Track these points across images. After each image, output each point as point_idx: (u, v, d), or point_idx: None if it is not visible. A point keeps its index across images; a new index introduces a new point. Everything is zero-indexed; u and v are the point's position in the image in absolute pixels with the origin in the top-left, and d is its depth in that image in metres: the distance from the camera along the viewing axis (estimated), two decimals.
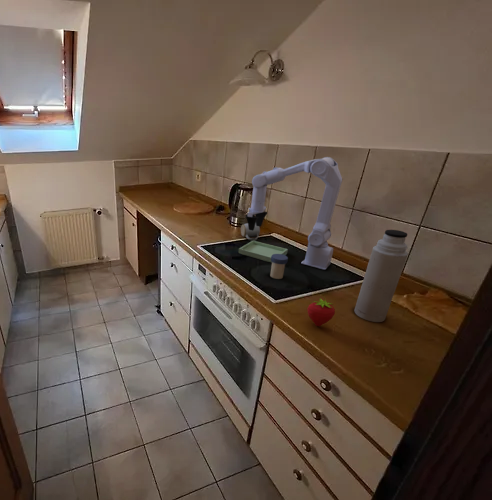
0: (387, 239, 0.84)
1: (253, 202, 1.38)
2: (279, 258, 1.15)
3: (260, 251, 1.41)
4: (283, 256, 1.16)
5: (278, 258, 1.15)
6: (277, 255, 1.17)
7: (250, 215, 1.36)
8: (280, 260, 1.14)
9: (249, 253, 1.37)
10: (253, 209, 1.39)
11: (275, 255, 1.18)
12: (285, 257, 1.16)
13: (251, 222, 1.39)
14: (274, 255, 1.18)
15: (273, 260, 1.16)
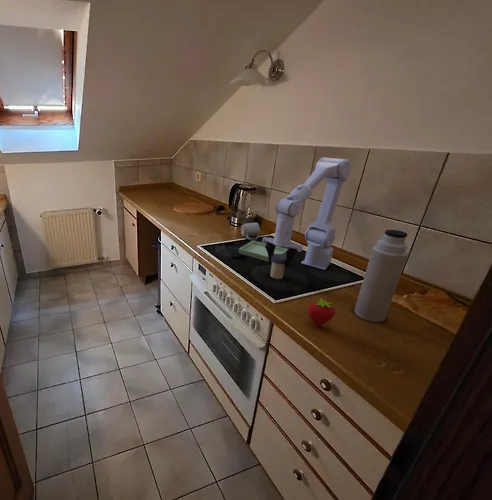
0: (387, 239, 0.84)
1: (289, 234, 1.10)
2: (279, 258, 1.15)
3: (260, 251, 1.41)
4: (283, 256, 1.16)
5: (278, 258, 1.15)
6: (277, 255, 1.17)
7: None
8: (280, 260, 1.14)
9: (249, 253, 1.37)
10: (289, 242, 1.11)
11: (275, 255, 1.18)
12: (285, 257, 1.16)
13: None
14: (274, 255, 1.18)
15: (273, 260, 1.16)
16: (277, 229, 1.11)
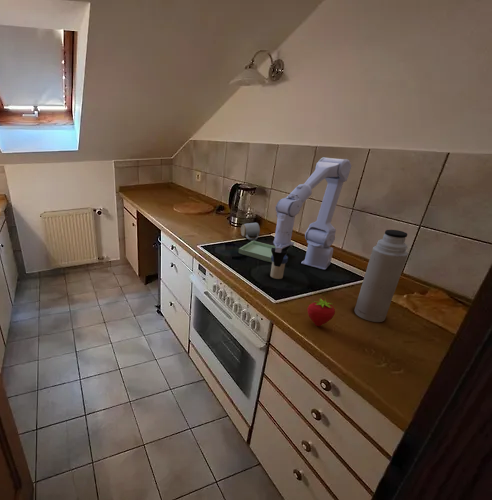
0: (387, 239, 0.84)
1: None
2: (284, 256, 1.16)
3: (260, 251, 1.41)
4: None
5: (285, 257, 1.15)
6: None
7: None
8: None
9: (249, 253, 1.37)
10: None
11: None
12: None
13: None
14: None
15: (286, 261, 1.14)
16: (277, 229, 1.11)
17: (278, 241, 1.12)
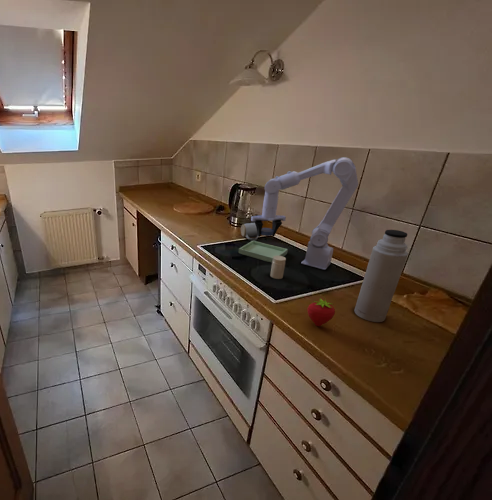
0: (387, 239, 0.84)
1: (276, 208, 1.30)
2: (268, 230, 1.33)
3: (260, 251, 1.41)
4: (267, 228, 1.36)
5: (268, 231, 1.33)
6: (263, 229, 1.35)
7: None
8: (271, 232, 1.33)
9: (249, 253, 1.37)
10: None
11: (262, 229, 1.35)
12: (270, 229, 1.35)
13: None
14: (262, 229, 1.35)
15: (265, 234, 1.33)
16: None
17: None
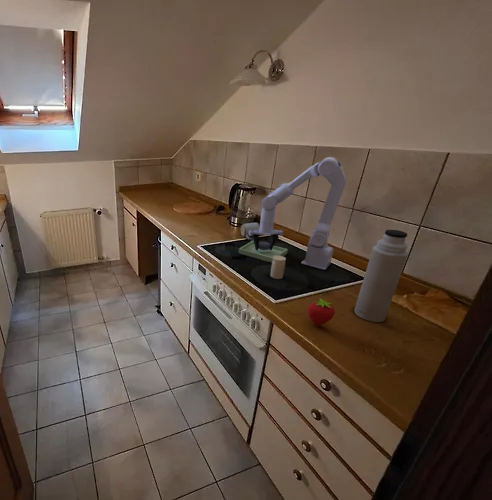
0: (387, 239, 0.84)
1: (273, 224, 1.33)
2: (266, 245, 1.37)
3: (260, 251, 1.41)
4: (265, 242, 1.40)
5: (265, 245, 1.37)
6: (261, 243, 1.39)
7: None
8: (268, 246, 1.36)
9: (249, 253, 1.37)
10: (272, 230, 1.35)
11: (260, 243, 1.39)
12: (267, 243, 1.39)
13: None
14: (259, 243, 1.39)
15: (262, 248, 1.37)
16: None
17: (259, 229, 1.37)
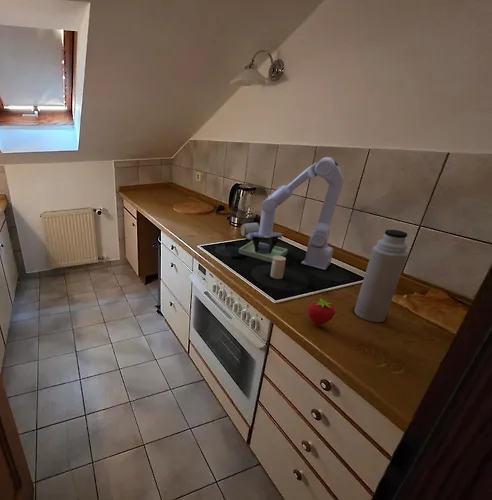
0: (387, 239, 0.84)
1: None
2: (265, 247, 1.38)
3: None
4: (265, 245, 1.40)
5: (265, 247, 1.37)
6: (260, 245, 1.40)
7: None
8: (268, 248, 1.37)
9: (249, 253, 1.37)
10: (272, 232, 1.36)
11: (259, 246, 1.39)
12: (267, 245, 1.40)
13: None
14: (259, 246, 1.39)
15: (262, 250, 1.37)
16: None
17: (259, 231, 1.37)
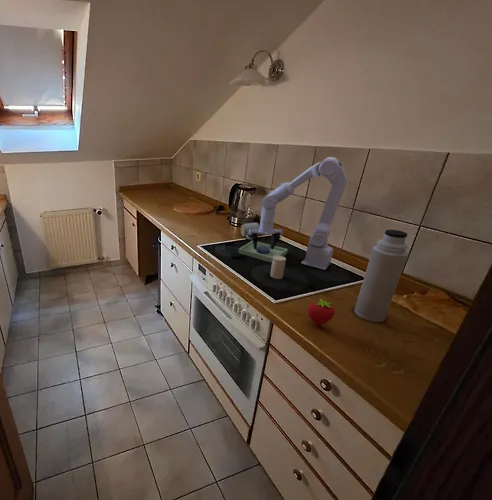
0: (387, 239, 0.84)
1: (273, 223, 1.33)
2: (265, 249, 1.38)
3: None
4: (264, 247, 1.41)
5: (265, 249, 1.38)
6: (260, 247, 1.40)
7: None
8: (267, 250, 1.37)
9: (249, 253, 1.37)
10: (272, 229, 1.35)
11: (259, 247, 1.40)
12: (266, 247, 1.40)
13: None
14: (259, 248, 1.40)
15: (262, 252, 1.38)
16: None
17: (259, 228, 1.37)
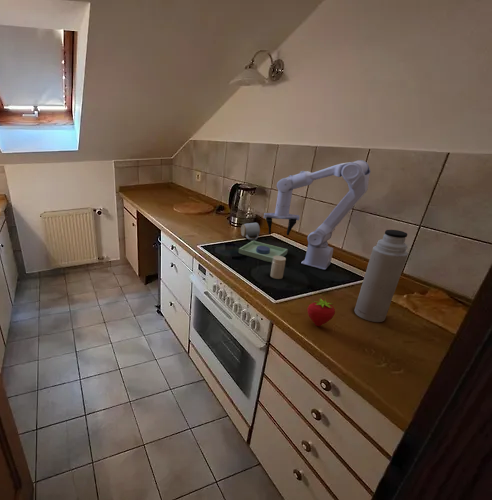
0: (387, 239, 0.84)
1: (289, 207, 1.31)
2: (265, 249, 1.38)
3: None
4: (264, 247, 1.41)
5: (265, 249, 1.38)
6: (260, 247, 1.40)
7: None
8: (267, 250, 1.37)
9: (249, 253, 1.37)
10: (288, 214, 1.32)
11: (259, 247, 1.40)
12: (266, 247, 1.40)
13: None
14: (259, 248, 1.40)
15: (262, 252, 1.38)
16: None
17: None
